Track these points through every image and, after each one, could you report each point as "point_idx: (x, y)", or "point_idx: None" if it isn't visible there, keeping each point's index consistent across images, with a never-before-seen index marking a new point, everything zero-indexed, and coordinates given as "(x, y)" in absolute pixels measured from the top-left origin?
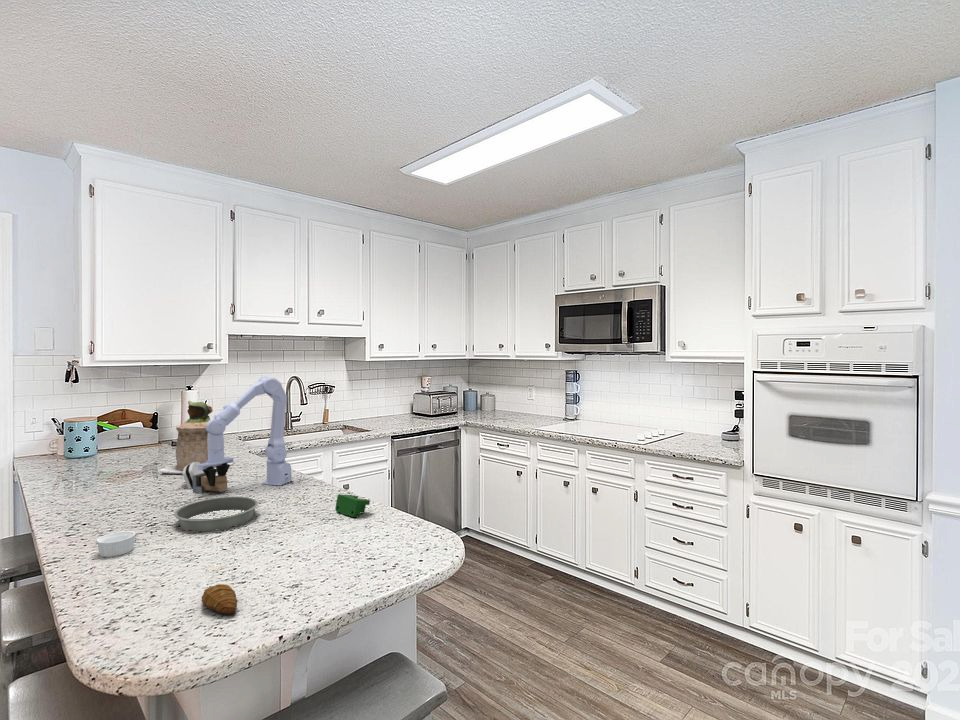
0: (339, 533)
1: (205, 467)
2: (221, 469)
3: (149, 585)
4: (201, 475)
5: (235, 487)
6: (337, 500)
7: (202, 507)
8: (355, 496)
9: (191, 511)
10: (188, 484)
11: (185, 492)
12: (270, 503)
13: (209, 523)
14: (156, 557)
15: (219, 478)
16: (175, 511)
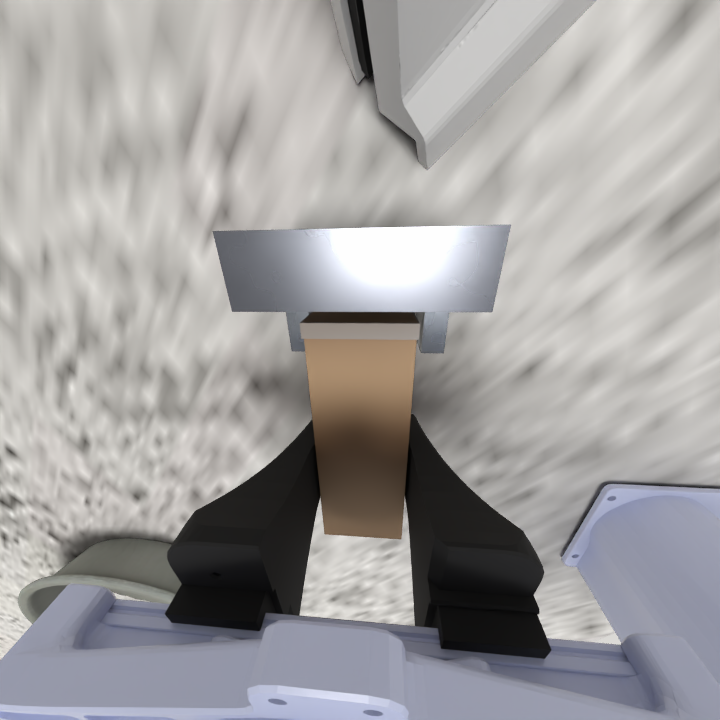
0: None
1: (154, 640)
2: (416, 561)
3: (7, 647)
4: (318, 309)
5: (503, 406)
6: None
7: (147, 564)
8: None
9: (108, 557)
10: (336, 8)
11: (260, 165)
12: (346, 615)
13: None
14: (16, 614)
15: (329, 531)
16: (21, 592)
